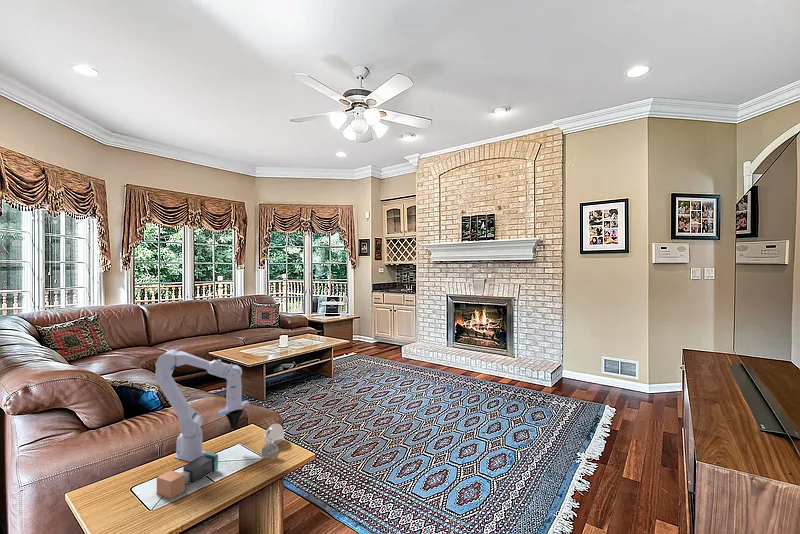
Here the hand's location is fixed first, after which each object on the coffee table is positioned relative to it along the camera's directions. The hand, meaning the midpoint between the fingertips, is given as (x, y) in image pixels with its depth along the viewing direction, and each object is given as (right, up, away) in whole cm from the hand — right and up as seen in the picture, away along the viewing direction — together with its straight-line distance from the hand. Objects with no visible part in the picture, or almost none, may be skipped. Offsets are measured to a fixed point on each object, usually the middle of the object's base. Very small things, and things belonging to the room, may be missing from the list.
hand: (234, 428), depth 158 cm
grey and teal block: (-5, -9, -22) cm, 24 cm away
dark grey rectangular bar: (-4, -9, -20) cm, 22 cm away
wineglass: (+17, -6, -7) cm, 20 cm away
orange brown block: (-9, -9, -30) cm, 32 cm away
